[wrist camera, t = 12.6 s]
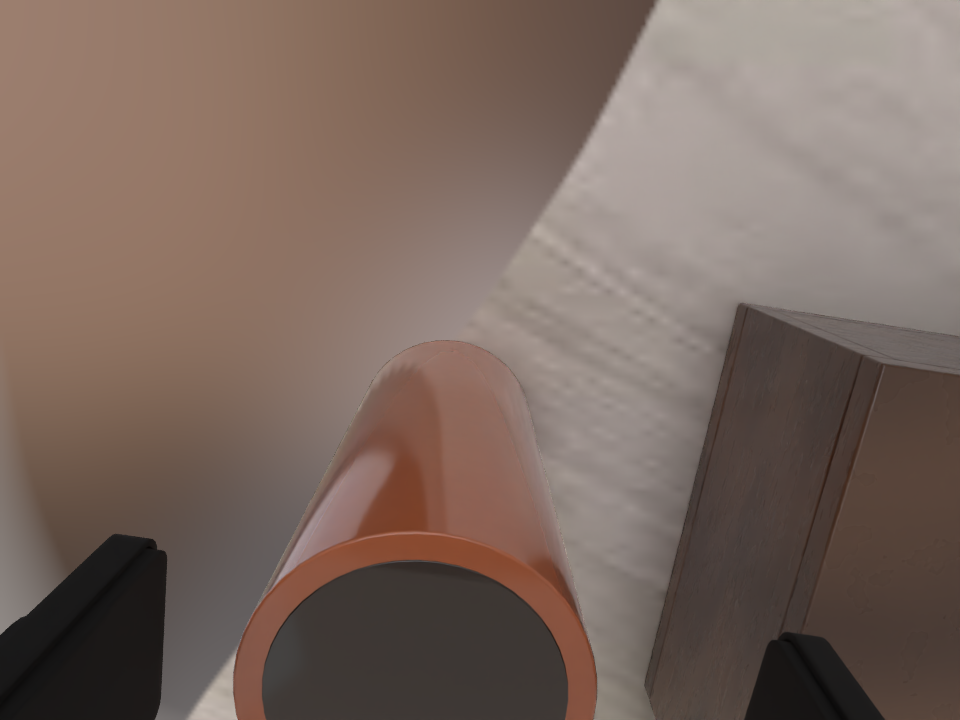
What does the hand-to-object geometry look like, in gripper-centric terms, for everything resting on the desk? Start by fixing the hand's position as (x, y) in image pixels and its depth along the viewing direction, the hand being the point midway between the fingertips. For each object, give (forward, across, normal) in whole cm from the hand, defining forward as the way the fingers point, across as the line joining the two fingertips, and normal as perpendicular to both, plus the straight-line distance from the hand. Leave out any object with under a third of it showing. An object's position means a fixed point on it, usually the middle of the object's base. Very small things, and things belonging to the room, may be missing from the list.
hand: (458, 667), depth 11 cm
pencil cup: (+13, +1, +1) cm, 13 cm away
